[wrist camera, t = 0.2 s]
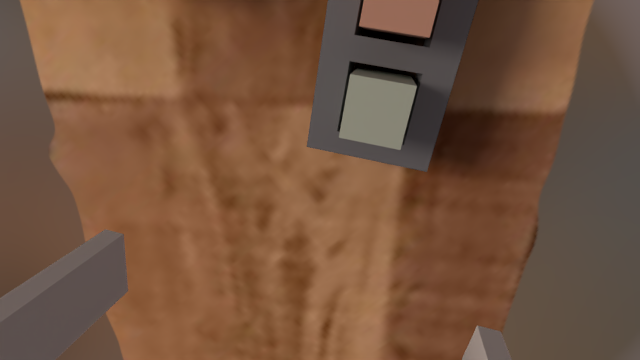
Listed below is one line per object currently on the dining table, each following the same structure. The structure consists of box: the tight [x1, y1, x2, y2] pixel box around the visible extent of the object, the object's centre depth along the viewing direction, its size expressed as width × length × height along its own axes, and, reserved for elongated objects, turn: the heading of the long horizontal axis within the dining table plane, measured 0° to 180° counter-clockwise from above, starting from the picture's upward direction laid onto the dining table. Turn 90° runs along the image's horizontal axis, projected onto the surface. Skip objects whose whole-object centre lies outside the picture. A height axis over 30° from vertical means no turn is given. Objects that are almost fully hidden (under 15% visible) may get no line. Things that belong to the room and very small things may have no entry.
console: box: [307, 0, 478, 172], centre depth 29 cm, size 26×11×6 cm, turn 171°
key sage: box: [339, 67, 417, 150], centre depth 29 cm, size 5×5×8 cm
